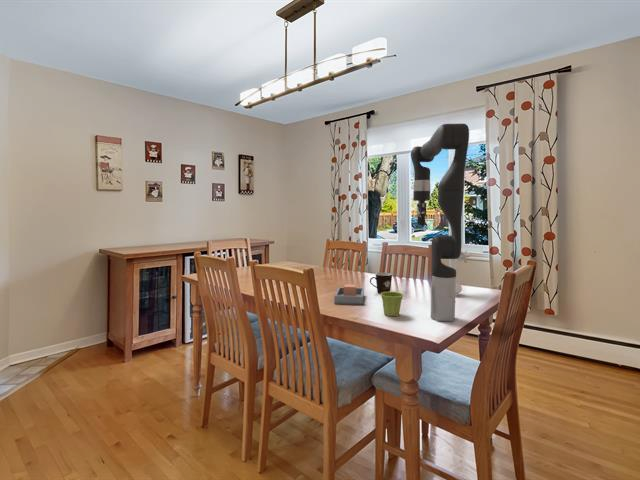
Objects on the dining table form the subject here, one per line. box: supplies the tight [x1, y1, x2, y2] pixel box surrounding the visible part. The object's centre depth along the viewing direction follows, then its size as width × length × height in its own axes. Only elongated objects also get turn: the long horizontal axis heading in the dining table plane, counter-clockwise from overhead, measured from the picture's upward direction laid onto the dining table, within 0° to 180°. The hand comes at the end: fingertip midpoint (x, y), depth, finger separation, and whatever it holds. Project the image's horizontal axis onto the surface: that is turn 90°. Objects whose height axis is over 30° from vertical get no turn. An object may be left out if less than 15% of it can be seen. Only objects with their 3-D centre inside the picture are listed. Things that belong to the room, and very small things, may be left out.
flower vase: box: [448, 248, 472, 297], centre depth 181 cm, size 13×18×25 cm
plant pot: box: [379, 291, 404, 317], centre depth 147 cm, size 9×9×9 cm
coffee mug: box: [369, 272, 393, 295], centre depth 185 cm, size 12×9×10 cm
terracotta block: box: [343, 283, 357, 296], centre depth 172 cm, size 6×6×6 cm
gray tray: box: [333, 286, 365, 306], centre depth 172 cm, size 18×13×4 cm
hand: (421, 225), depth 166 cm, fingers open, 8 cm apart
